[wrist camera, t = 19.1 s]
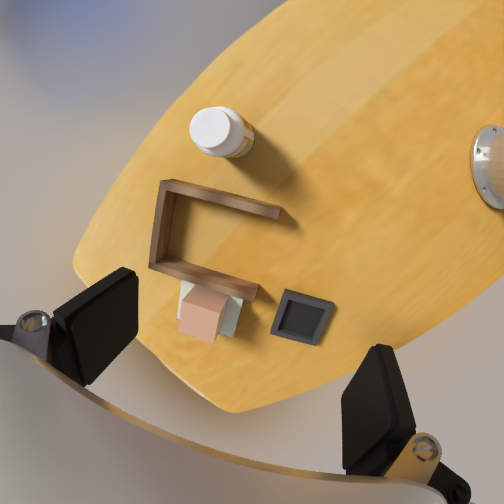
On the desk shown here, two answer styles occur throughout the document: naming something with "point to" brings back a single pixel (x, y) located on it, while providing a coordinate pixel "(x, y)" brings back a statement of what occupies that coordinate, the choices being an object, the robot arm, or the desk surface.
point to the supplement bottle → (221, 132)
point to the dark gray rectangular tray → (301, 317)
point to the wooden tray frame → (188, 270)
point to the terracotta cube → (203, 313)
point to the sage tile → (231, 311)
